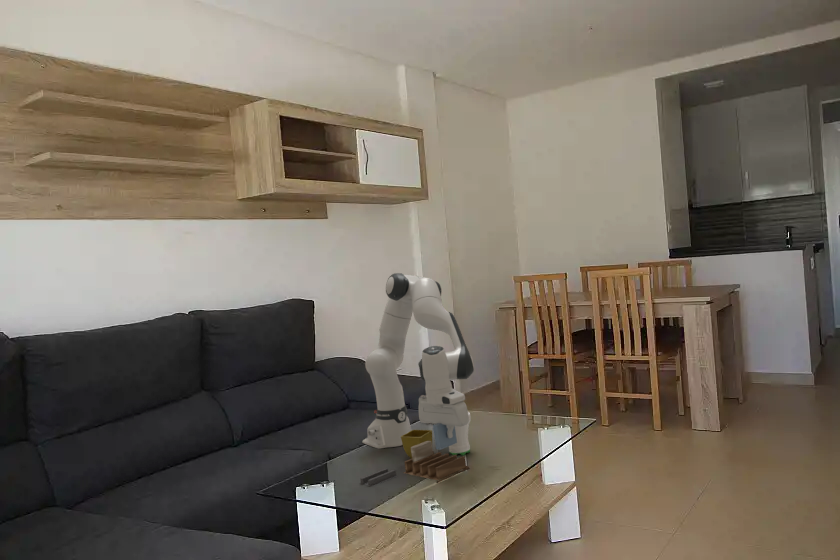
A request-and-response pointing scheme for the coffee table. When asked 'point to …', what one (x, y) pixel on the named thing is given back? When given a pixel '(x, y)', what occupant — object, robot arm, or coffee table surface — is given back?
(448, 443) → the upright blue tile
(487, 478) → the coffee table surface
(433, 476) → the rack
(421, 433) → the flower pot
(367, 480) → the stand
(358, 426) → the coffee table surface
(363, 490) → the coffee table surface
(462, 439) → the cup
